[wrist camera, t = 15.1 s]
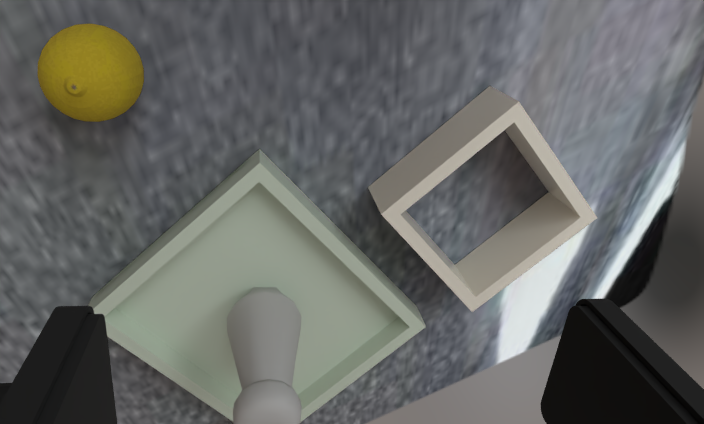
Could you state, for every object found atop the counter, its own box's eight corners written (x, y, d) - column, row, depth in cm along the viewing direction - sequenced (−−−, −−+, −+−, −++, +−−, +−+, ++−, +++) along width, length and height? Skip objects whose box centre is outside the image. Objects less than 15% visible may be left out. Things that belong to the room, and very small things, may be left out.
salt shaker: (213, 311, 44) (198, 438, 32) (259, 263, 43) (260, 377, 31) (268, 346, 46) (273, 476, 35) (313, 301, 45) (333, 421, 34)
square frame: (489, 85, 41) (518, 101, 36) (564, 192, 46) (597, 217, 41) (367, 187, 43) (381, 214, 38) (451, 278, 48) (472, 312, 43)
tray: (259, 148, 40) (259, 162, 37) (416, 306, 48) (426, 326, 46) (92, 296, 43) (81, 318, 40) (268, 420, 51) (269, 446, 49)
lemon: (165, 93, 37) (143, 125, 30) (84, 110, 37) (43, 147, 30) (136, 9, 35) (105, 22, 28) (49, 27, 34) (-5, 45, 27)
